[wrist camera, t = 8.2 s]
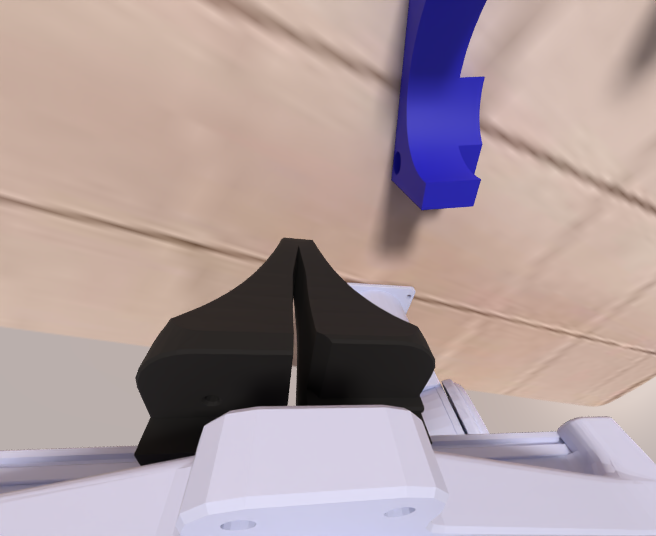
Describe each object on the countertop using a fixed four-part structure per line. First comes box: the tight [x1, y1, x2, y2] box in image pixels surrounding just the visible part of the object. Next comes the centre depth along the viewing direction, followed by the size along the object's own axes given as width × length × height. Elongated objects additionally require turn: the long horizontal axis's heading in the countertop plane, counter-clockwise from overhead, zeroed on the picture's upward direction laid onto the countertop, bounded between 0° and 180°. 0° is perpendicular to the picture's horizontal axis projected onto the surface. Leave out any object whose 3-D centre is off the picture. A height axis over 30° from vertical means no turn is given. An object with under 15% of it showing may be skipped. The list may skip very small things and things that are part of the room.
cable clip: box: [392, 0, 487, 210], centre depth 14 cm, size 12×4×6 cm, turn 2°
